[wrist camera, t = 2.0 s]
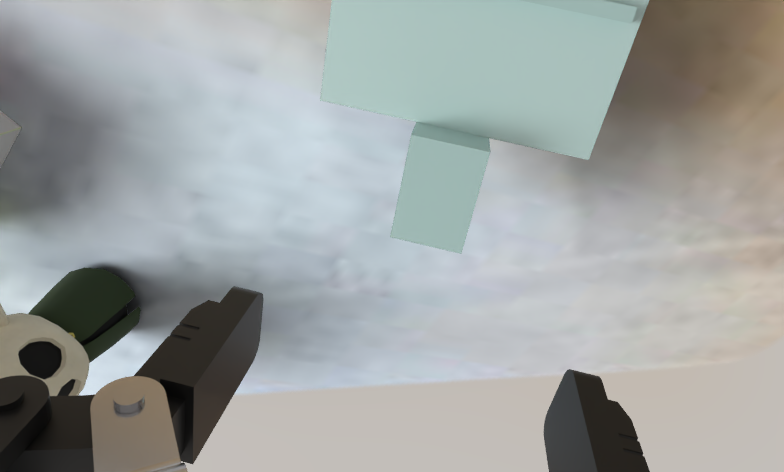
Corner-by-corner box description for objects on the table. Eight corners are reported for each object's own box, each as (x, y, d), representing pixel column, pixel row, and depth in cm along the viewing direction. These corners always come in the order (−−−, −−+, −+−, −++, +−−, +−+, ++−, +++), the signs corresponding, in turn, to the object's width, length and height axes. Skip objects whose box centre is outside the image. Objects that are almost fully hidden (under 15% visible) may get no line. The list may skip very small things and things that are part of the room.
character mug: (168, 353, 42) (53, 493, 31) (91, 352, 44) (-47, 487, 32) (124, 233, 38) (-31, 345, 26) (39, 236, 39) (-144, 345, 27)
